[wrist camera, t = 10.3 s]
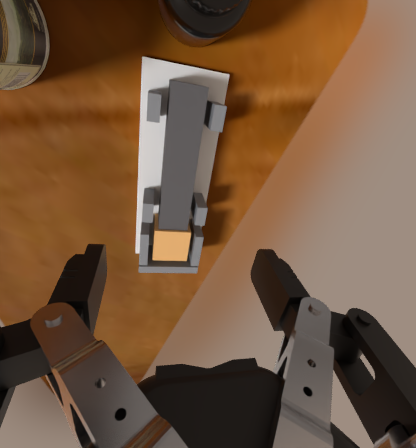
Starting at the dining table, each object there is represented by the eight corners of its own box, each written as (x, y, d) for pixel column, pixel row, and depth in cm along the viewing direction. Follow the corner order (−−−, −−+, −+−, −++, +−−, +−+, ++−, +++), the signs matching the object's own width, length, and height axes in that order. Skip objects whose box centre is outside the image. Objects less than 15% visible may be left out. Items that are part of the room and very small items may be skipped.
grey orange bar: (164, 78, 26) (166, 79, 22) (206, 86, 27) (214, 88, 23) (152, 240, 36) (152, 260, 32) (183, 241, 37) (186, 260, 33)
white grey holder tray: (142, 56, 25) (139, 53, 20) (227, 74, 27) (242, 74, 23) (135, 249, 37) (132, 275, 32) (195, 251, 39) (201, 276, 34)
